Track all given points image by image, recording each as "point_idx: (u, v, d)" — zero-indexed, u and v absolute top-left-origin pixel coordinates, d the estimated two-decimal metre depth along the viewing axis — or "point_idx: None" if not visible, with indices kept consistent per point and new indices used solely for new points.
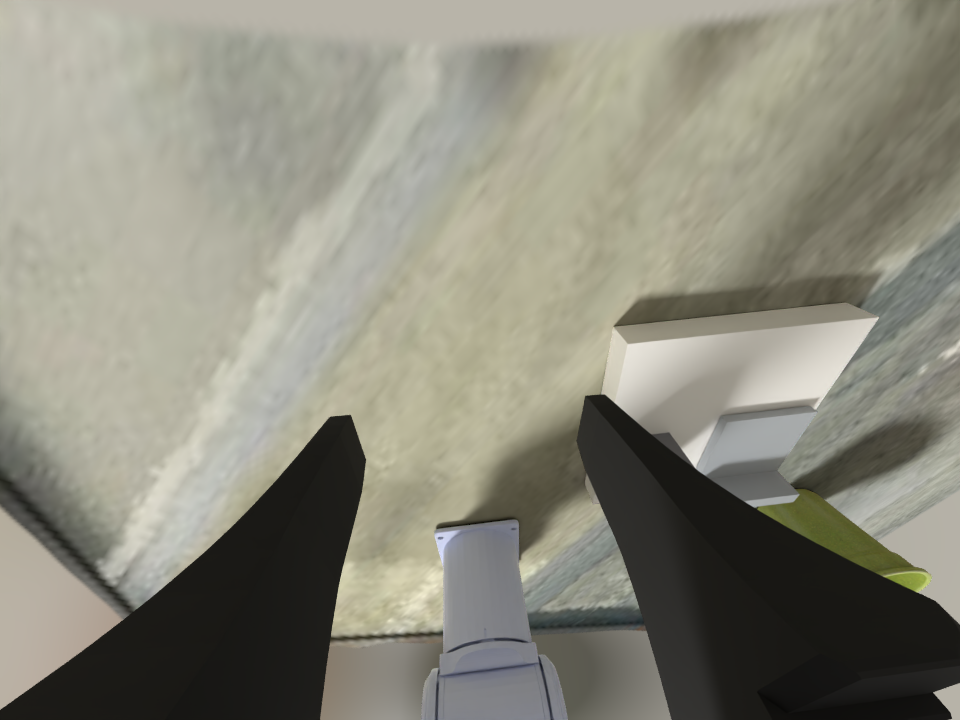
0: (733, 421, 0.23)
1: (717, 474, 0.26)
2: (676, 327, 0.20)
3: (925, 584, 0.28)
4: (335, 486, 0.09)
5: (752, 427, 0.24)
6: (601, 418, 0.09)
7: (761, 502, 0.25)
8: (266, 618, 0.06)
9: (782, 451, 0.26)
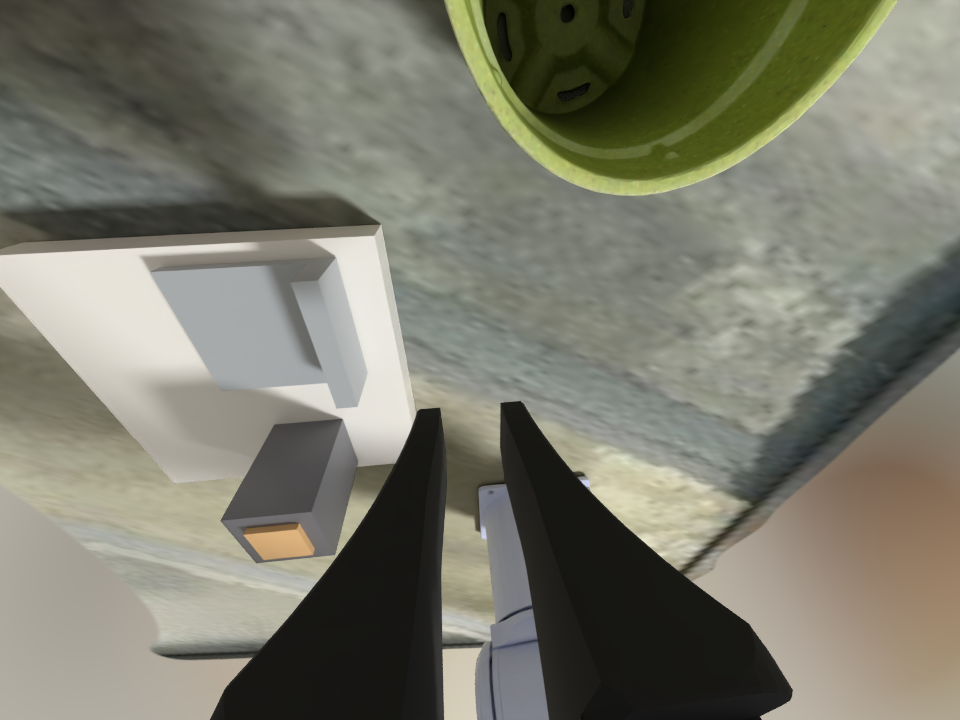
0: (218, 383, 0.17)
1: None
2: None
3: None
4: (438, 476, 0.09)
5: (219, 356, 0.17)
6: (507, 426, 0.09)
7: (323, 344, 0.14)
8: (424, 599, 0.06)
9: (257, 280, 0.15)
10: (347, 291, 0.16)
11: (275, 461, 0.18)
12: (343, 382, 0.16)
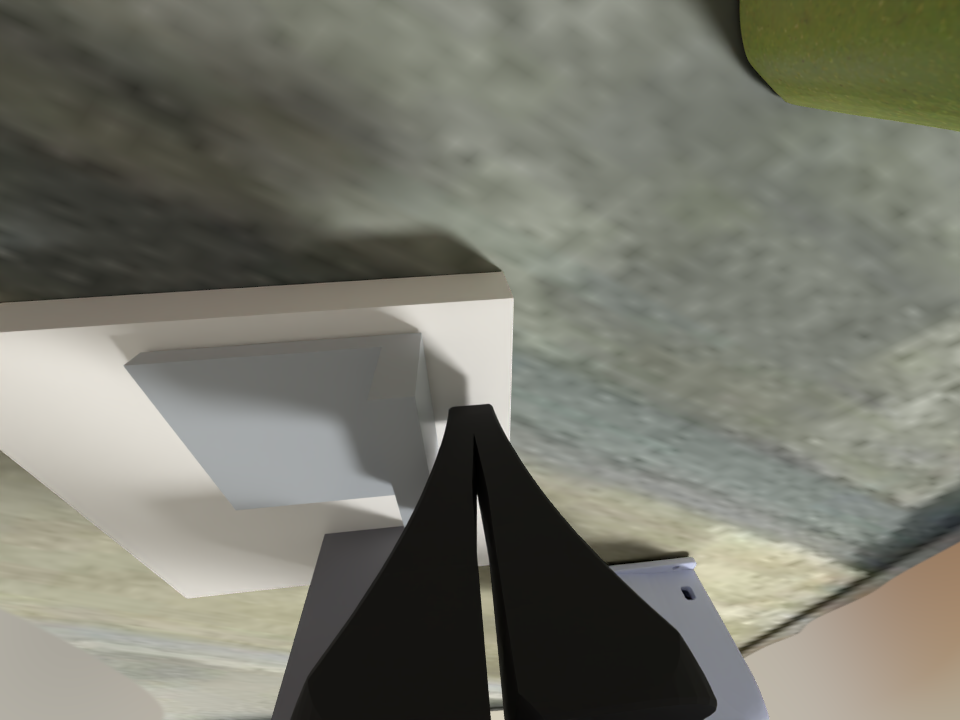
0: (231, 501, 0.12)
1: None
2: None
3: None
4: (474, 473, 0.09)
5: (233, 470, 0.11)
6: None
7: (407, 479, 0.09)
8: None
9: (297, 373, 0.09)
10: (455, 375, 0.11)
11: (336, 607, 0.12)
12: None
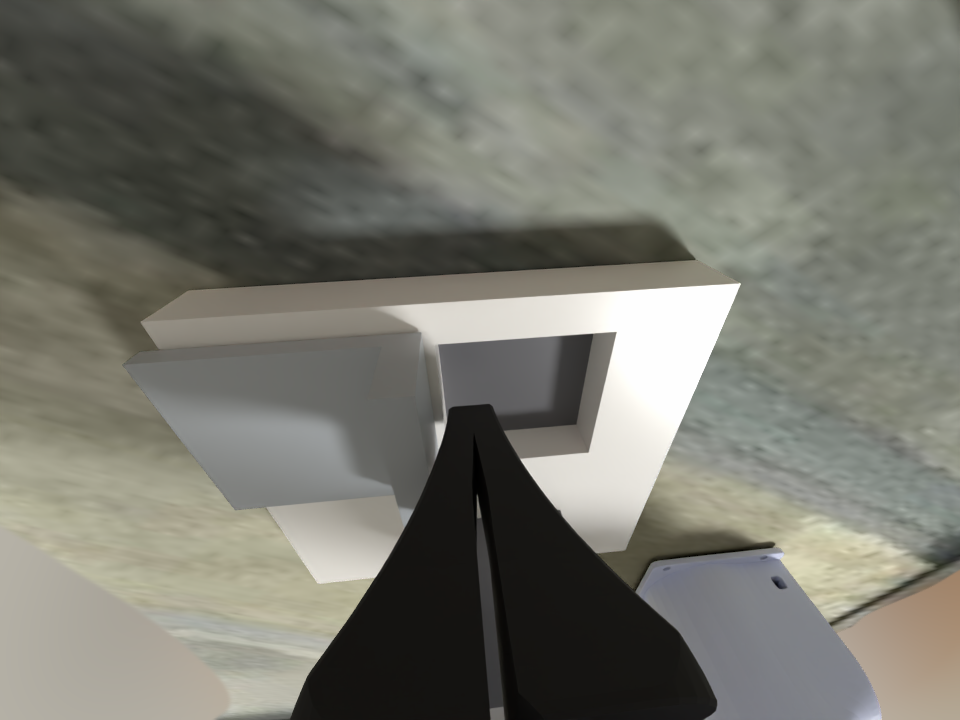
0: (230, 500, 0.12)
1: None
2: None
3: None
4: (474, 473, 0.09)
5: (233, 470, 0.11)
6: None
7: (406, 479, 0.09)
8: None
9: (297, 372, 0.09)
10: (656, 359, 0.11)
11: None
12: None
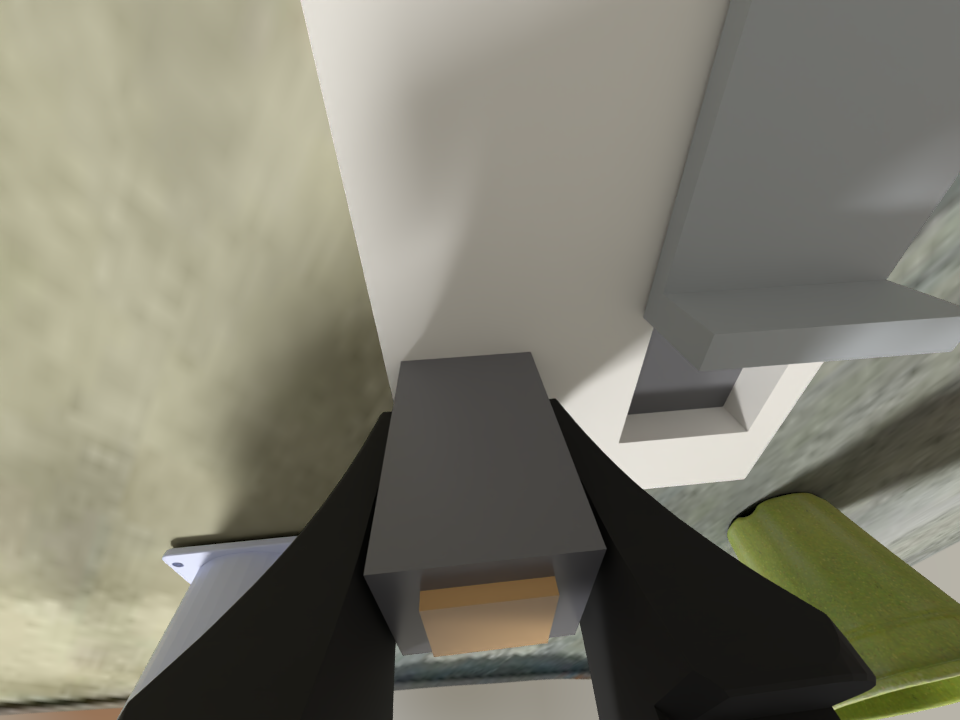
0: None
1: (720, 272, 0.09)
2: None
3: None
4: None
5: None
6: None
7: (860, 338, 0.08)
8: (360, 607, 0.06)
9: (927, 186, 0.08)
10: (706, 459, 0.15)
11: None
12: (767, 356, 0.08)
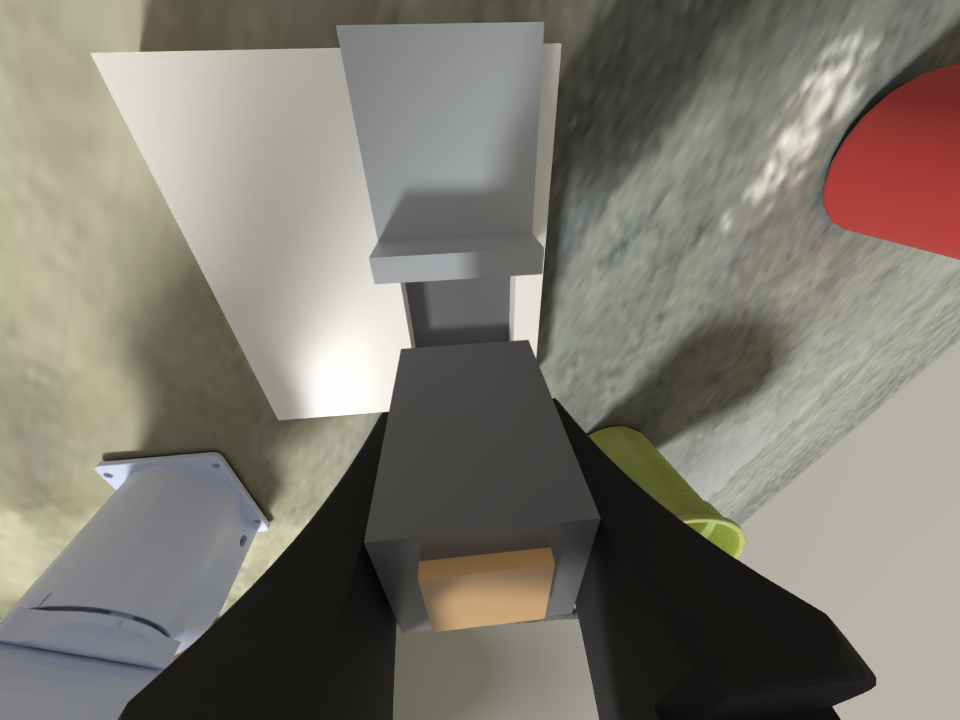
0: (353, 27, 0.10)
1: (410, 226, 0.14)
2: None
3: (741, 544, 0.20)
4: None
5: (410, 60, 0.11)
6: None
7: (470, 263, 0.13)
8: (360, 606, 0.06)
9: (519, 170, 0.13)
10: None
11: None
12: (414, 274, 0.13)
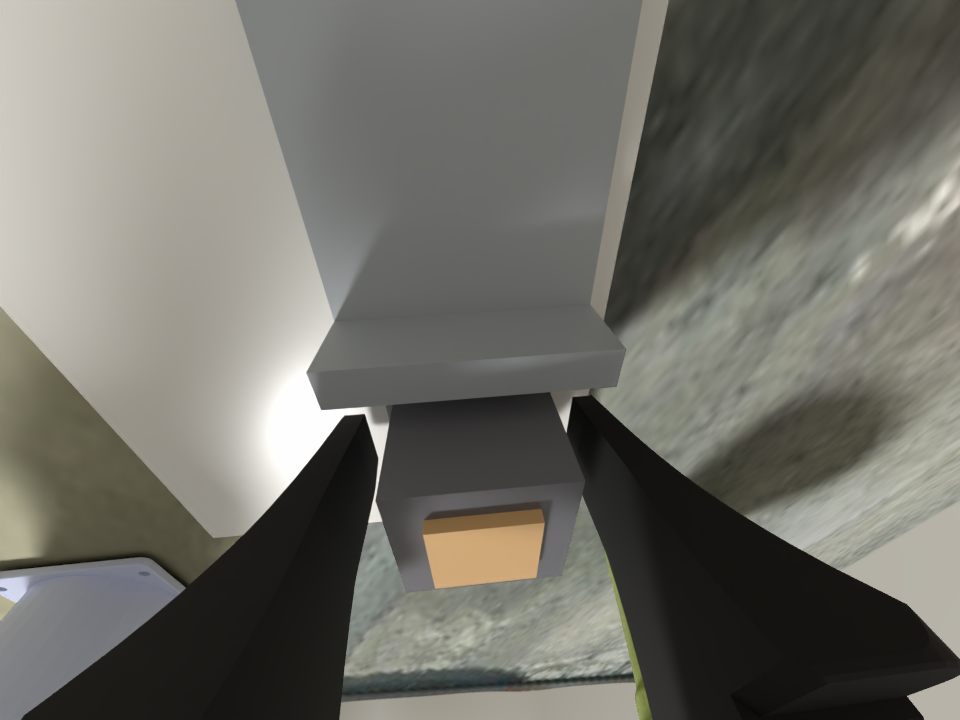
0: None
1: (388, 297, 0.08)
2: None
3: None
4: (352, 484, 0.09)
5: None
6: (586, 419, 0.09)
7: (492, 375, 0.07)
8: (292, 615, 0.06)
9: (578, 206, 0.07)
10: None
11: None
12: (392, 394, 0.07)
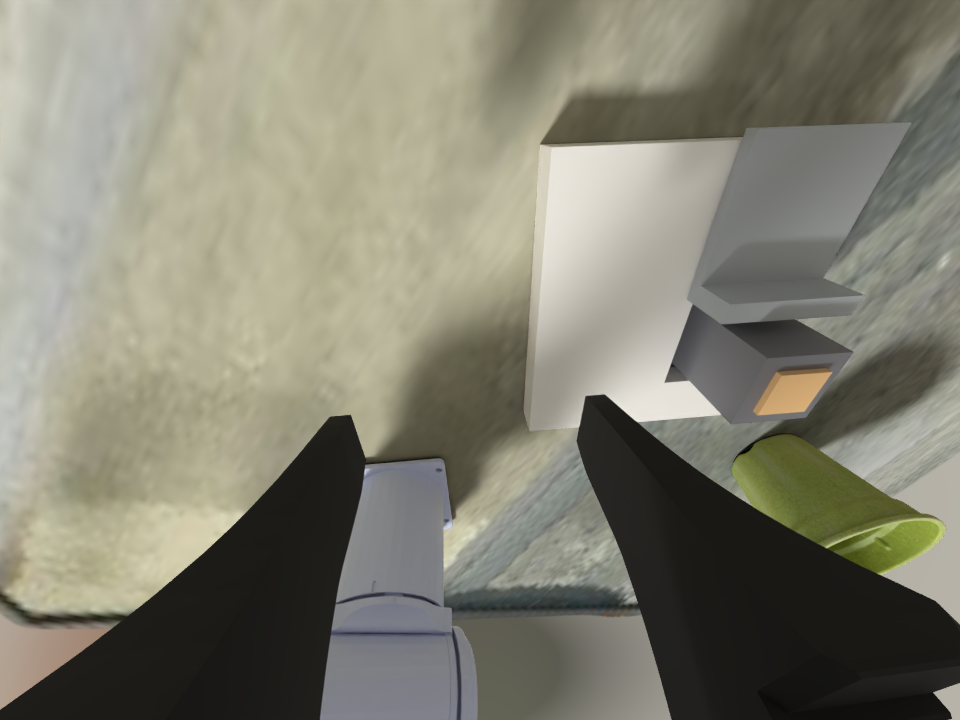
0: (768, 129, 0.13)
1: (731, 273, 0.16)
2: (625, 142, 0.15)
3: (936, 540, 0.22)
4: (335, 486, 0.09)
5: (798, 151, 0.14)
6: (601, 418, 0.09)
7: (802, 307, 0.15)
8: (267, 618, 0.06)
9: (837, 230, 0.16)
10: None
11: None
12: (756, 316, 0.15)
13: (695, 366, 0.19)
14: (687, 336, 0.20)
